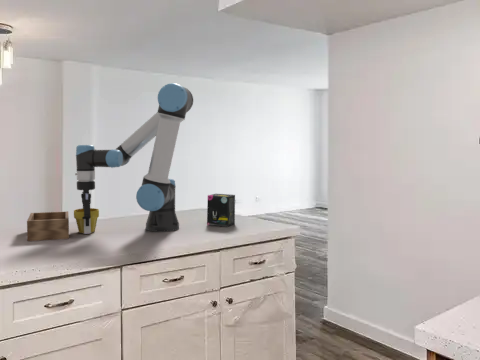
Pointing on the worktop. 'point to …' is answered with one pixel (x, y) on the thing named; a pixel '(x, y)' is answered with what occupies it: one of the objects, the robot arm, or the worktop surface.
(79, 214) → the plant pot
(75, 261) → the worktop surface
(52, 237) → the open wooden box
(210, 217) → the tampon box
